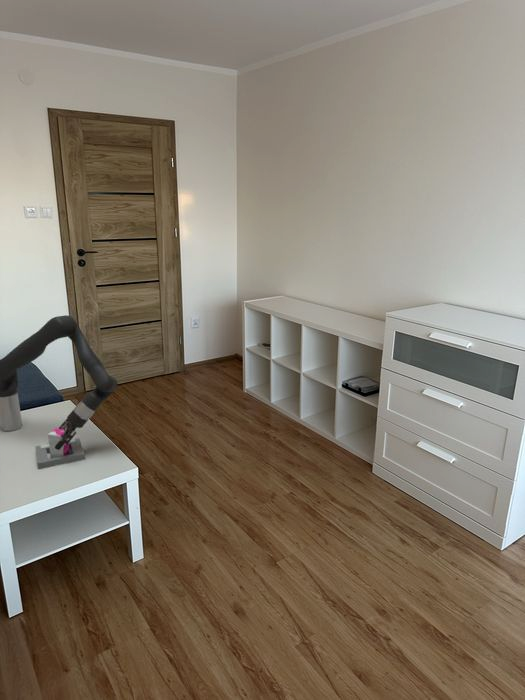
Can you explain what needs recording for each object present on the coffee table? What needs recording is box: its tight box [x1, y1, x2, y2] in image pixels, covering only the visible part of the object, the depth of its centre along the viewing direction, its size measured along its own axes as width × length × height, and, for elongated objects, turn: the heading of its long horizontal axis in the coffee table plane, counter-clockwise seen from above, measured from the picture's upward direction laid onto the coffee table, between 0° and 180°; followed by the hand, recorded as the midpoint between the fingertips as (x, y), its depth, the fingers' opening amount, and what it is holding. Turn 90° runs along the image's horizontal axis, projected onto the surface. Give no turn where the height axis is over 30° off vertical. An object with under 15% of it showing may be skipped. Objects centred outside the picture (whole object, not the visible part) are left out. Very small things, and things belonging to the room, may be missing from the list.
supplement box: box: [47, 428, 71, 459], centre depth 209 cm, size 6×6×12 cm
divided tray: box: [35, 437, 86, 470], centre depth 211 cm, size 16×18×3 cm
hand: (55, 444), depth 208 cm, fingers closed on supplement box, 8 cm apart
